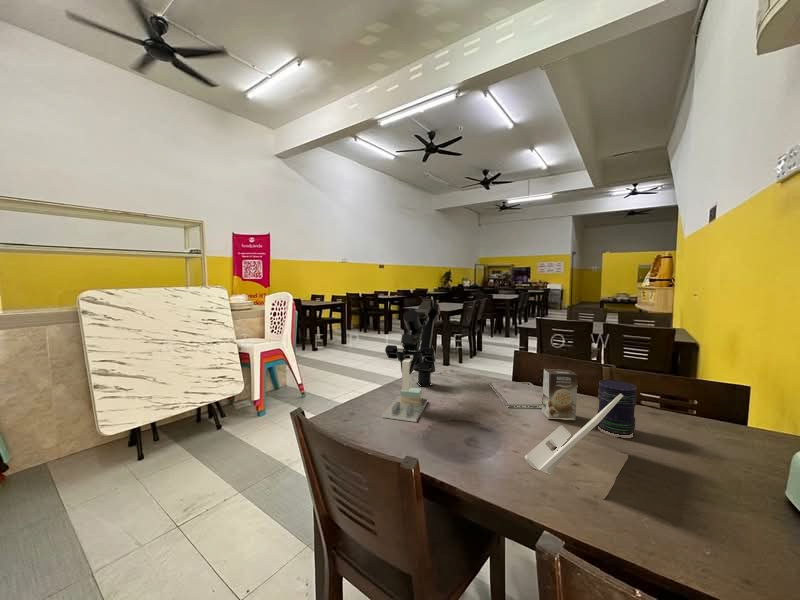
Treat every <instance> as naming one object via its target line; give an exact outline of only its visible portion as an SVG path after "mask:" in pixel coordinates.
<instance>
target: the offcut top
mask: <svg viewBox="0 0 800 600" xmlns="http://www.w3.org/2000/svg"><path fill="white" fill-rule="evenodd" d="M422 393H423V392H422V388H420V387H418V388H417V387H411V389H410V390H409V391H405V390H402V389H401V390H400V396H404V397H413V398H419V397H420V395H421V394H422ZM421 396H422V395H421Z"/></svg>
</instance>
